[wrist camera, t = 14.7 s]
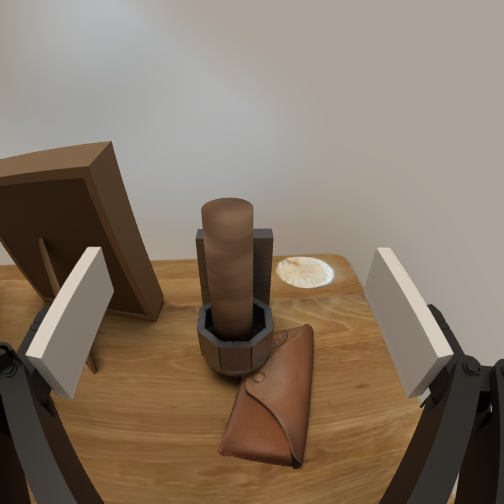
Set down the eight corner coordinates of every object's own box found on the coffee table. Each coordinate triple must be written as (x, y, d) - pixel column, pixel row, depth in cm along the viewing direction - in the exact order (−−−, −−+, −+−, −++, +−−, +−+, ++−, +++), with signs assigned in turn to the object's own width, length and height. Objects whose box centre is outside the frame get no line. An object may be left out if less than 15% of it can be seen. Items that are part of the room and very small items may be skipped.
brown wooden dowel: (208, 347, 31) (190, 211, 23) (229, 325, 34) (222, 194, 25) (239, 364, 30) (233, 225, 21) (259, 340, 32) (262, 204, 24)
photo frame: (56, 285, 45) (13, 148, 30) (165, 301, 43) (136, 128, 29) (12, 346, 32) (-62, 194, 18) (130, 384, 31) (50, 177, 17)
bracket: (273, 389, 31) (284, 298, 23) (201, 390, 31) (182, 299, 23) (264, 306, 43) (269, 218, 35) (208, 307, 42) (200, 218, 35)
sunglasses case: (247, 330, 39) (275, 301, 35) (290, 352, 40) (321, 327, 36) (214, 458, 24) (249, 447, 20) (273, 475, 25) (315, 465, 22)
